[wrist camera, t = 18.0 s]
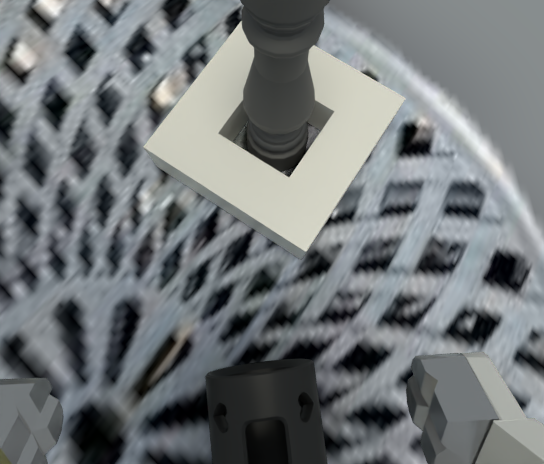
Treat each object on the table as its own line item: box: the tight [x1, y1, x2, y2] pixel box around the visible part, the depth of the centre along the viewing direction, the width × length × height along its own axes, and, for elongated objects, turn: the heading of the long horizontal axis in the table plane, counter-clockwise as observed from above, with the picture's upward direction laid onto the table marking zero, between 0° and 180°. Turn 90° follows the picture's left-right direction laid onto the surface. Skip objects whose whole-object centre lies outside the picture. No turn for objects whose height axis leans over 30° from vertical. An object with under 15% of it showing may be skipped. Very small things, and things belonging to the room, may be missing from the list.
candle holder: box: [240, 0, 330, 171], centre depth 32 cm, size 6×6×25 cm
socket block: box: [143, 21, 406, 260], centre depth 42 cm, size 18×18×5 cm
